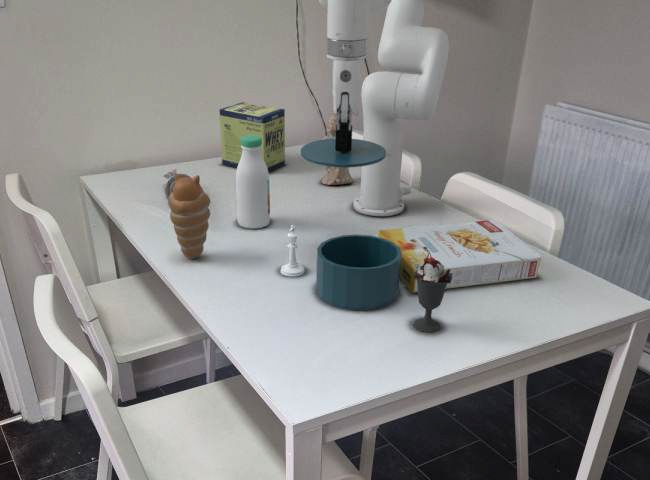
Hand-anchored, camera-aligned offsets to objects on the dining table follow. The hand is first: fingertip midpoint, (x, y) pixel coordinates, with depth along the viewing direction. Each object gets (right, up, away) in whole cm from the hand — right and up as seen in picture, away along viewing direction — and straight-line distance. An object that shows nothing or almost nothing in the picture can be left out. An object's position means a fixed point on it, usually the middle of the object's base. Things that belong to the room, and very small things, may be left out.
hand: (343, 147), depth 143 cm
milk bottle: (-20, -9, +26) cm, 34 cm away
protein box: (-22, +16, +63) cm, 69 cm away
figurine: (+1, +7, +51) cm, 52 cm away
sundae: (+14, -37, -13) cm, 42 cm away
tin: (+3, -29, -2) cm, 29 cm away
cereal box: (+24, -23, +8) cm, 34 cm away
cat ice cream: (-32, -20, +10) cm, 39 cm away
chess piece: (-10, -24, +5) cm, 27 cm away
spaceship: (-38, -3, +36) cm, 52 cm away
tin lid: (0, -1, +1) cm, 1 cm away
